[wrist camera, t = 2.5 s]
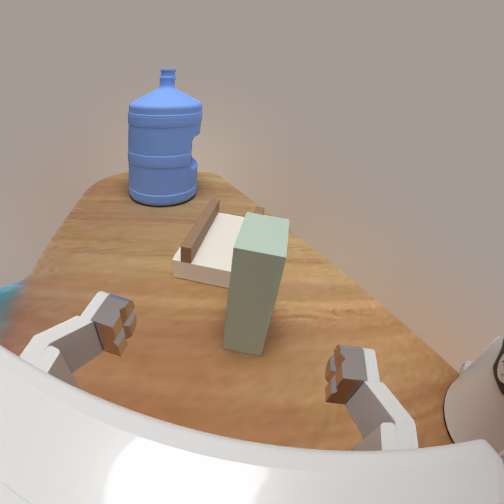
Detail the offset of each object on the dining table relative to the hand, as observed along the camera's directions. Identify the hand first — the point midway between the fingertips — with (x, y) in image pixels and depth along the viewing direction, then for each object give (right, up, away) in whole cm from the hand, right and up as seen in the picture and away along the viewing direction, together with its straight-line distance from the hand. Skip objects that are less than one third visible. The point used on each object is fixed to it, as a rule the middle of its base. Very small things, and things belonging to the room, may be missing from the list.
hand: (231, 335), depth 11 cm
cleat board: (-4, +3, +38) cm, 38 cm away
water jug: (-20, +17, +54) cm, 60 cm away
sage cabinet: (0, -6, +25) cm, 26 cm away
